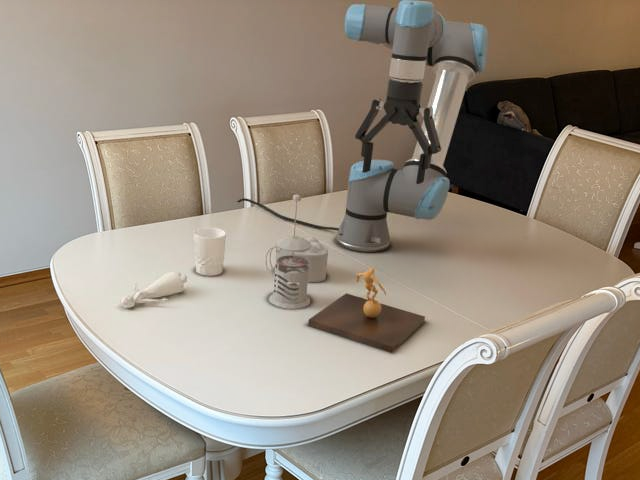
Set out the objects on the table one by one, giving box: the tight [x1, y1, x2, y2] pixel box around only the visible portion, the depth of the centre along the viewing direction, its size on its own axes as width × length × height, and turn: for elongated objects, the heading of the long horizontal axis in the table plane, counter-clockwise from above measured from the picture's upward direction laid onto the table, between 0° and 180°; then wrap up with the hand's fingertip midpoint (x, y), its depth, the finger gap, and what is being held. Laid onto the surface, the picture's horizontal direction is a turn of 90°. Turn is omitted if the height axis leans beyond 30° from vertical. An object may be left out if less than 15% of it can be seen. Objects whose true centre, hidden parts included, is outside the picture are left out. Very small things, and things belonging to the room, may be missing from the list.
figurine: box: [355, 267, 387, 318], centre depth 152 cm, size 8×6×12 cm
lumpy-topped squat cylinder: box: [274, 235, 329, 283], centre depth 177 cm, size 10×13×9 cm
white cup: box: [192, 227, 227, 277], centre depth 174 cm, size 8×8×10 cm
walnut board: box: [307, 293, 426, 353], centre depth 155 cm, size 20×18×2 cm
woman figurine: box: [120, 271, 188, 309], centre depth 159 cm, size 12×4×18 cm
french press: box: [265, 194, 312, 310], centre depth 158 cm, size 10×12×25 cm
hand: (392, 177), depth 163 cm, fingers open, 13 cm apart
